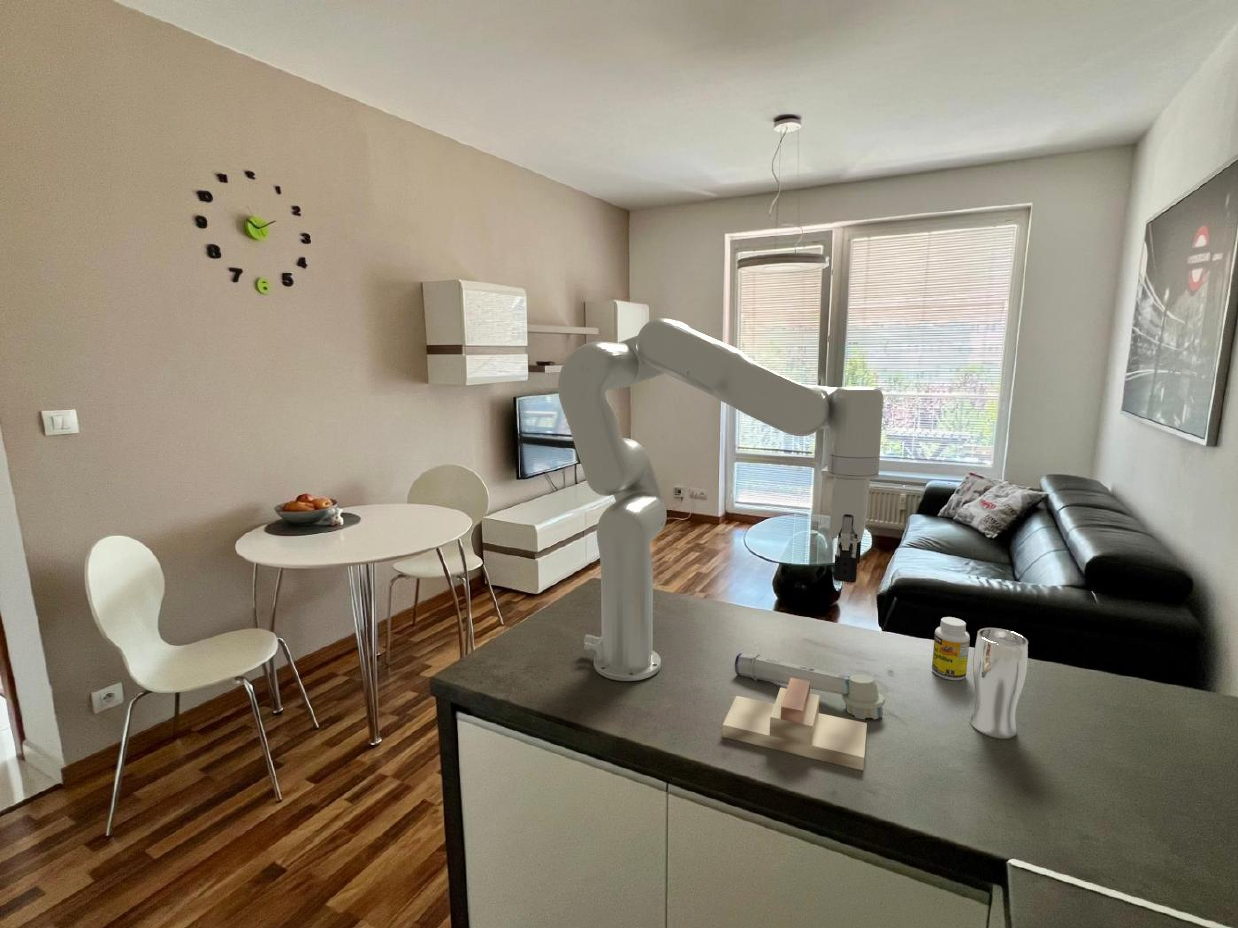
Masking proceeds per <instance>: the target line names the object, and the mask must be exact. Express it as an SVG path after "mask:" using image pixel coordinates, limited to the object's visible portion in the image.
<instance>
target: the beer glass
mask: <svg viewBox="0 0 1238 928" xmlns="http://www.w3.org/2000/svg"><path fill="white" fill-rule="evenodd" d="M1028 645H1029V640H1028V639H1027V638H1026V637H1024V636H1023V635H1022V634H1020V633H1017V632H1015V631H1013V630H1012V631H1011V630H1009V629H1005V628H1004V629H1003V628H998V627H984V628H980V629H979V630H977V635H976V640H975V645H974V651H973V657H972V658H973V660H972V661H973V662H972V669H973V670H972V671H973V682H974V690H975V691H974V692H975V703H974V708H973V712H972V714H971V718H970V723H971V725H972V727H973V728H974V729H975V730H976V731H978V732H979V733H981V734H983V735H986V736H989V737H992V738H995V739H1001V740H1002V739H1003V740H1007V739H1012V738H1014V737H1016V735H1017V726H1016V724H1017V723H1016V709H1017V705H1018V702H1019V699H1020V696H1021V694H1022V691H1023V687H1024V686H1025V681H1026V677H1027V669H1028V657H1029V656H1028V654H1029V651H1028V649H1029V647H1028Z"/></svg>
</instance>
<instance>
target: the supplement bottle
mask: <svg viewBox="0 0 1238 928" xmlns="http://www.w3.org/2000/svg"><path fill="white" fill-rule="evenodd" d="M966 627H967V623H966V622H965V621H964V620H962V619H960V618H956V617H954V616H953V617H952V616H946V617H945V616H944V617H942V618H941V619H940V626H938V627H936V629H935V631H934V640H933V650H932V651H933V652H932V662H931V670H932V672H933V673H934V674H935V675H936V676H938V677H940V678H942V679H944V680H950V681H961V680H962V681H963V679H965V678H966V676H967V671H968V670H967V669H968V660H969V651H970V650H969V649H970V642H971V641H970V640H971V638H970V637H971V636H970V634H969V632H968V631H967V630H966Z"/></svg>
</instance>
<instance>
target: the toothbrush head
mask: <svg viewBox="0 0 1238 928" xmlns="http://www.w3.org/2000/svg"><path fill="white" fill-rule="evenodd" d="M734 673H735V674H736V675H738V676H742V677H745V678H748V679H749V678H751V679H753V680H754V681H758V680H761V681H766V682H771V683H777V684H783V685H787V686H788V684H789V681H790V678H795V679H800V680H805V681H810V690H814V691H815V690H816V691H822V692H827V693H832V694H838V695H841V697H842V698H841V699H842V700H843V702H844V703H845V710H846V711H847V713H848V714H851V715H853V716H854V717H855V719H860V720H864V721H865V720H866V718H867V719H871V718H872V719H873V720H877V719H880V718H882V716H883V715H884V711H883V710H884V709H883V706H884V705H885V703H886V700H885V697H884V696H883V694H882V693H879V690H878V685H877V683H876V680H875V679H874V678H873V677H872V676H869V675H866V674H853V675H849V676H848V675H845V674H839V673H836V672H831V671H827V670H822V669H818V668H813V667H810V666H804V665H800V664H797V663H796V664H795V663H792V662H787V661H782V660H777V659H774V658H769V657H764V656H762V655H760V653H756V654H747V653H742V652H740V653H738V654H737V655H736V657H735V661H734Z"/></svg>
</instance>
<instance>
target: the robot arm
mask: <svg viewBox="0 0 1238 928" xmlns="http://www.w3.org/2000/svg"><path fill="white" fill-rule="evenodd" d="M664 374H666V375H667V376H670V377H672V378H674V379H677V380H679V381H680V382H683V383H686V384H687V385H689V386H692V387H693V388H695V389H698V390H700V391H702V392H704V393H707V395H710V396H712V397H714V398H716V399H717V400H719V401H721V403H724V404H727V405H728V406H731V407H732V408H733V409H735V410H738V411H740V412H741V413H742V414H745V415H746V416H749V417H750V418H753V419H755V420H757V421H759V422H761V423H763V424H765V425H768V426H770V427H772V428H774V429H776V430H778V431H781V432H783V433H785V434H787V435H791V436H794V437H795V436H796V437H807V436H811V435H813V434H815V433H816V432H818V431H819V430H826V429H828V431H829V432H828V433H829V434H828V451H827V452H828V455H827V476H829V477H833V480H832V481H833V482H832V489H831V490H832V491H831V500H830V516H829V526H828V527H829V529H828V532H829V533H828V538H829V539H830V540H831V541H833V540H834V539H837V542H836V554H835V553H834V554H835V555H834V567H833V568H834V569H833V571H834V572H833V580H835V582H845V583H850V584H853V583H856V581H857V577H858V576H857V573H858V565H859V564H860V563H861V549H862V541H863V537H864V533H865V529H866V523H867V519H868V518H867V516H868V509H869V499H870V498H869V497H870V486H871V484H870V481H871V480H874V479H878V478H879V475H880V474H879V473H880V459H881V456H880V455H881V444H882V443H881V440H882V439H881V438H882V427H883V426H882V424H883V409H884V396H883V392H882V390H881V389H879V388H878V387H874V386H860V385H858V386H857V385H856V386H853V385H852V386H851V385H850V386H839V387H831V386H822V385H816V384H802V383H799V382H797V381H795V380H792V379H790V378H788V377H785V376H784V375H781V374H778V373H777V372H775V371H772V370H770V369H768V368H766V367H764V366H761V364H758V363H757V362H755V361H753V360H752V359H751V358H749V357H748V356H747V355H746V354H745V353H744V352H743V351H741V350H740V349H738V348H736V347H734V346H732V345H730V344H727V343H724V342H722V341H720V340H717V339H715V338H714V337H711V336H708V335H706V334H704V333H701V332H700V331H697V330H696V329H692V328H691V327H690V326H689V325H688V324H686V323H685V322H682V321H680V320H677V319H676V320H675V319H671V318H665V317H659V318H653V319H651V320H649V321H647V322H646V323H645V324H644V325H643V326H642V327H641V328H640V330H639V332H638V334H637V335H636V336H633V337H630V338H627V339H624V340H622V341H618V342H613V341H611V342H610V341H602V340H601V341H600V340H599V341H591V342H586V343H585V344H582V345H580V346H578V347H577V348H576V349H574V350H573V352H571V353H570V354H569V355H568V357H567V358H566V359H565V361H564V362H563V364H562V366H561V368H560V371H559V375H558V379H557V380H558V381H557V382H558V383H557V393H558V399H559V403H560V405H561V409H562V411H563V414H564V416H565V419H566V422H567V425H568V427H569V430H570V433H571V437H572V440H573V443H574V447H575V449H576V453H577V456H578V458H579V461H580V465H581V467H582V471H583V474H584V477H585V480H586V483H587V485H588V486H589V487H590V489H591V490H592V491H593V492H594V493H595V494H598V495H599V496H604V497H608V496H609V497H610V496H613V497H614V500H615V502H614V503H612V504H611V505H609V506H608V507H607V508H606V509H605V510H604V511H603V512H602V514H601V515H600V517H599V520H598V522H597V525H596V542H597V547H598V552H599V560H600V562H599V564H600V589H601V590H600V591H601V592H600V593H601V594H600V596H601V599H600V600H601V602H600V604H601V607H600V608H601V636H595V635H591V634H585V636H584V638H583V644H584V645H583V648H584V650H586V651H589V652H594V653H595V654H596V655H594V658H593V668H594V670H595V672H597V674H600V676H603V677H605V678H606V679H610V680H613V681H617V682H618V681H620V682H636V681H641V680H645V679H649V678H651V677H653V676H654V675H656V674H657V673H658V672H659V671H660V669H661V666H662V665H661V664H662V659H661V656H660V655H659V654H658V653H657V652H656V651H655V650H653V648H654V647H653V646H654V645H653V642H654V640H653V636H654V635H653V633H654V629H653V628H654V627H653V626H654V622H653V621H654V620H653V619H654V615H653V614H654V571H653V570H654V569H653V562H652V557H651V549H650V548H651V547H650V546H651V542H652V541H653V539H655V538H656V537H657V536H658V535H659V534H661V532H662V531H663V529H664V527H665V525H666V522H667V513H668V512H667V506H666V503H665V501H664V497H663V494H662V491H661V488H660V485H659V483H658V479H657V475H656V472H655V470H654V466H653V464H652V461H651V459H650V456H649V454H648V452H647V450H645V448H644V447H643V446H642V445H641V444H640V443H639V442H637V441H636V440H635V439H631V438H627V437H623V435H622V433H621V430H620V428H619V424H618V419H617V417H616V415H615V413H614V411H613V409H612V407H611V405H610V404H609V402H608V400H607V397H606V392H607V391H608V390H610V391H611V390H612V391H613V390H618V389H619V390H620V389H625V388H629V387H631V386H634V385H636V384H637V385H638V384H640V383H642V382H645V381H647V380H651V379H655V378H657V377H659V376H663V375H664Z"/></svg>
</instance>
